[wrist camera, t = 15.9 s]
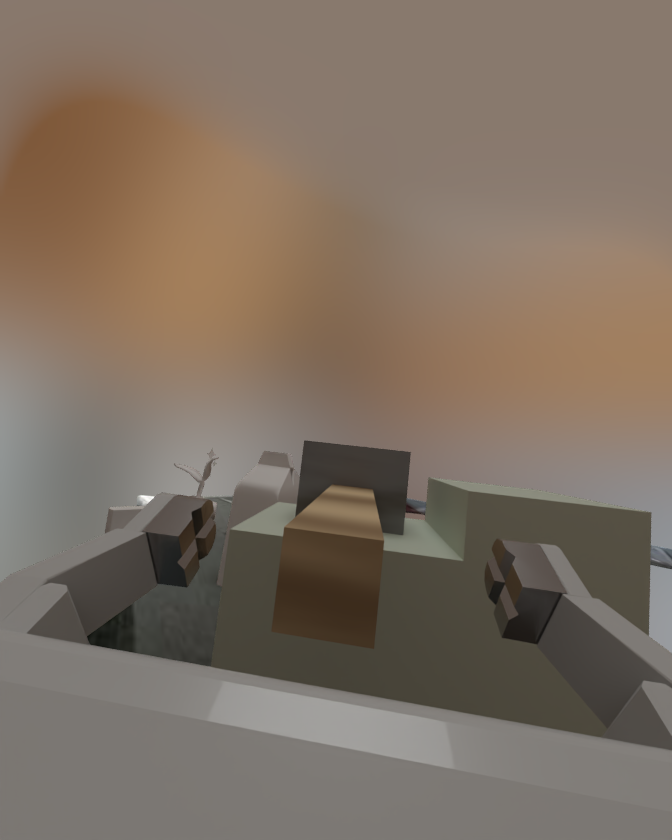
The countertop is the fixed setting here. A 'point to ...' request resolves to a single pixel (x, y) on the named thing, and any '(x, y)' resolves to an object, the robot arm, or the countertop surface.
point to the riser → (442, 604)
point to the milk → (262, 492)
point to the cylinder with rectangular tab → (121, 517)
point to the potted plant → (199, 478)
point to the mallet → (339, 542)
